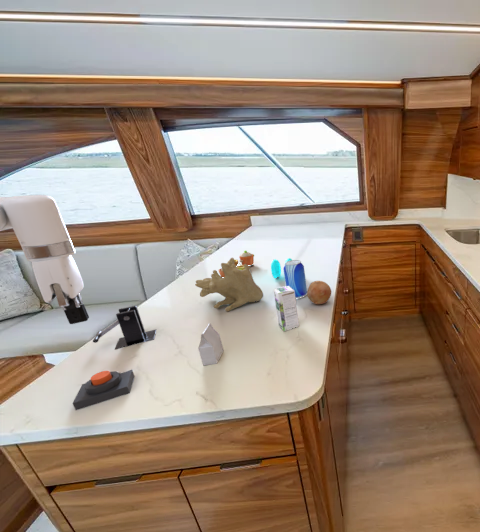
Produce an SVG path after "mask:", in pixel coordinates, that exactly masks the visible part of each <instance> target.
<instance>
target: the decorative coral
mask: <svg viewBox="0 0 480 532" xmlns="http://www.w3.org/2000/svg"><path fill="white" fill-rule="evenodd" d="M234 259H235V258H234V257H230V259H229V260H228V261H229V262H228V261H227V262H228V263H227V262H221V263H220V266H221V268H222V270H223V272H224V274H225V277H224V278H222V277H221V276H220V273H219V272H218V271H217V270H216V269H213V270H212V273H211V275H210V277H205V278H203V279H196V280H195V287H197V288H199V289H201V290H200V292H199V297H201V298H204V297H207V296H208V295H210V294H219V295H221V296H222V297H224V299H223V300H219V301H217V302H216V304H214V305H213V309H219V308H220V307H221V306H226V307H225V308H224V311H225V312H227V313H228V312H231V311H232V310H233V309H236V308H240V307H241V306H243V305H245V304H247V303H256V302H260V301H261V300H262V299H263V298H264V292H263V290H262V289H261V287H260V286H259V285H257V283H256V282H255V280H254V277H253V274H252V272H251V267H250V266H247V264H244V267H245V269H244V270H239V269H238V268H237V267H236V265H235V261H234ZM226 263H227V264H226ZM255 301H256V302H255Z"/></svg>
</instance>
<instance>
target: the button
mask: <svg viewBox="0 0 480 532" xmlns="http://www.w3.org/2000/svg"><path fill="white" fill-rule="evenodd" d="M110 372H111V371H110V370H102V371H99V372H97V373H95V374H93V375H92V376H91V377H90V379H91V381H92V384H93V385H99V384H103V383H105V382H107V381H109V380H110V379H112V376H111V373H110Z"/></svg>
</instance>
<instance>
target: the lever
mask: <svg viewBox="0 0 480 532" xmlns="http://www.w3.org/2000/svg"><path fill="white" fill-rule="evenodd" d="M127 311H131V309H130V308H129V309H128V310H127ZM127 311H125V312H127ZM119 325H120V324H119V322H118V319H117V320H115V321H114V322H113V323H111V324H109V326H107V327H106V328H105V329H103V330H99V331H97V333H96V335H95V336H94V338H93V340H92V343H94V344H97V343H98V342H99V341H100V339H101V338H102V337H103V336H104V335H106V334H108V333H109V332H111V330H113V329H114V328H116V327H117V326H119Z"/></svg>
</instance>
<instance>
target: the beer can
mask: <svg viewBox="0 0 480 532" xmlns="http://www.w3.org/2000/svg"><path fill="white" fill-rule="evenodd" d="M283 276H284V282H285V286H290V287H291V288H292V289H293V290H294V291H295V298H300V297H303V296H305V295H307V291H308V288H307V280H306V271H305V266H304V264H303V263H302V261H301V260H300V259H292V260H291V261H287V262H285V261H284V266H283ZM305 297H306V296H305Z"/></svg>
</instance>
